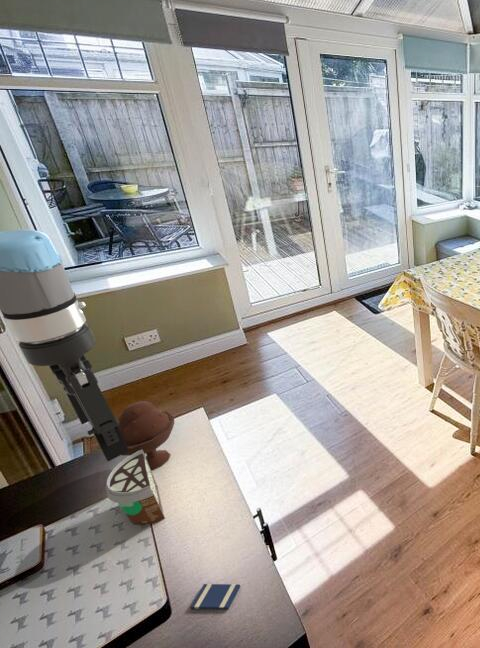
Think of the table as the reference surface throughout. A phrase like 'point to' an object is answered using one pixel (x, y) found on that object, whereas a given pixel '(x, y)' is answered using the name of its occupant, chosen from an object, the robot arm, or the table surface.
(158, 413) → the ice cream bowl
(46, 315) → the robot arm
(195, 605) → the tea towel
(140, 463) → the food container
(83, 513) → the table surface
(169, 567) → the table surface
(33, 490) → the table surface
